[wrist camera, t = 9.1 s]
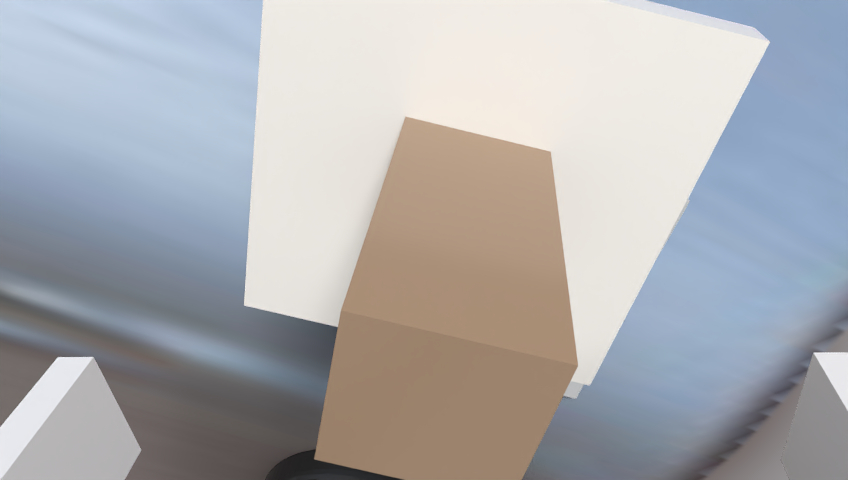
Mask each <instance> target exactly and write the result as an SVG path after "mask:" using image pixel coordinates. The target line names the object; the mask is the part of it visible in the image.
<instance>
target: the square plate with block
mask: <svg viewBox="0 0 848 480" xmlns="http://www.w3.org/2000/svg"><path fill="white" fill-rule="evenodd" d="M769 43H770V41H769V40H768V39H766V38H765V37H764V36H763V35H762V34H761V33H760V32H758V31H757V30H756V29H755V28H754V27H750V26H746V25H742V24H738V23H734V22H730V21H726V20H722V19H718V18H714V17H710V16H706V15H702V14H698V13H694V12H690V11H686V10H682V9H678V8H674V7H670V6H666V5H662V4H658V3H654V2H650V1H646V0H263V11H262V27H261V43H260V59H259V75H258V91H257V107H256V123H255V139H254V155H253V171H252V187H251V203H250V219H249V234H248V250H247V266H246V282H245V298H244V305H245V306H249V307H253V308H258V309H262V310H266V311H271V312H275V313H279V314H284V315H288V316H292V317H296V318H301V319H305V320H309V321H314V322H318V323H322V324H327V325H331V326H335V327H338V329H337V335H336V340H335V346H334V352H333V357H332V363H331V368H330V374H329V380H328V385H327V391H326V396H325V402H324V407H323V413H322V419H321V424H320V430H319V435H318V441H317V447H316V452H315V458H314V459H315V460H319V461H324V462H328V463H333V464H337V465H341V466H346V467H350V468H355V469H359V470H364V471H368V472H372V473H377V474H381V475H386V476H390V477H395V478H399V479H403V480H522V478H523V476H524V474H525V472H526V470H527V468H528V466H529V464H530V462H531V460H532V458H533V456H534V454H535V452H536V450H537V448H538V446H539V444H540V442H541V440H542V438H543V436H544V434H545V432H546V430H547V428H548V426H549V424H550V422H551V419H552V417H553V415H554V413H555V411H556V409H557V407H558V405H559V403H560V401H561V399H562V397H563V395H564V393H565V391H566V389H567V387H568V385H569V383H570V381H573V382H577V383H581V384H586V385H590V384H591V382H592V380H593V379H594V377H595V375H596V373H597V371H598V369H599V367H600V365H601V363H602V361H603V359H604V358H605V356H606V354H607V352H608V350H609V348H610V346H611V344H612V342H613V340H614V338H615V337H616V335H617V333H618V331H619V329H620V327H621V325H622V323H623V321H624V319H625V317H626V316H627V314H628V312H629V310H630V308H631V306H632V304H633V302H634V300H635V298H636V296H637V295H638V293H639V291H640V289H641V287H642V285H643V283H644V281H645V279H646V277H647V276H648V274H649V272H650V270H651V268H652V266H653V264H654V262H655V260H656V258H657V256H658V255H659V253H660V251H661V249H662V247H663V245H664V243H665V241H666V239H667V237H668V235H669V234H670V232H671V230H672V228H673V226H674V224H675V222H676V220H677V218H678V216H679V214H680V213H681V211H682V209H683V207H684V205H685V203H686V201H687V199H688V197H689V195H690V193H691V192H692V190H693V188H694V186H695V184H696V182H697V180H698V178H699V176H700V174H701V172H702V171H703V169H704V167H705V165H706V163H707V161H708V159H709V157H710V155H711V153H712V151H713V150H714V148H715V146H716V144H717V142H718V140H719V138H720V136H721V134H722V132H723V131H724V129H725V127H726V125H727V123H728V121H729V119H730V117H731V115H732V113H733V111H734V110H735V108H736V106H737V104H738V102H739V100H740V98H741V96H742V94H743V92H744V90H745V89H746V87H747V85H748V83H749V81H750V79H751V77H752V75H753V73H754V71H755V69H756V68H757V66H758V64H759V62H760V60H761V58H762V56H763V54H764V52H765V50H766V48H767V47H768V45H769Z"/></svg>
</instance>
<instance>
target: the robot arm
mask: <svg viewBox="0 0 848 480" xmlns="http://www.w3.org/2000/svg"><path fill="white" fill-rule="evenodd" d="M140 451H141V449H140V447H139V445H138V443H137V441H136V439H135V437H134V435H133V433H132V431H131V429H130V427H129V425H128V423H127V421H126V419H125V417H124V415H123V413H122V412H121V410H120V408H119V406H118V404H117V402H116V400H115V398H114V396H113V394H112V392H111V390H110V388H109V386H108V384H107V382H106V380H105V378H104V376H103V374H102V373H101V371H100V369H99V367H98V365H97V363H96V361H95V359H94V357H58V358H57V359H56V360H55V361H54V363H53V364H52V365H51V366H50V368H49V369H48V370H47V371H46V372H45V374H44V375H43V376H42V377H41V378H40V380H39V381H38V382H37V383H36V385H35V386H34V387H33V388H32V389H31V391H30V392H29V393H28V394H27V395H26V397H25V398H24V399H23V400H22V402H21V403H20V404H19V405H18V406H17V408H16V409H15V410H14V411H13V412H12V414H11V415H10V416H9V417H8V418H7V420H6V421H5V422H4V423H3V425H2V426H1V427H0V480H125V478H126V476H127V474H128V473H129V471H130V469H131V467H132V466H133V464H134V462H135V460H136V458H137V457H138V455H139V453H140ZM315 452H316V450H313V451H308V452H303V453H300V454H297V455H294V456H291V457H289V458H287V459H285V460H283V461H282V462H280V463H279V464H277V465H276V466H275V467H274V468H273V469H272V470H271V471H270V472H269V474H268V475H267V477H266V479H265V480H403V479H399V478H395V477H390V476H386V475H381V474H377V473H372V472H368V471H364V470H359V469H355V468H350V467H346V466H341V465H337V464H333V463H328V462H324V461H319V460H315V459H314V458H315ZM781 462H782V464H783V466H784V469H785V471H786V473H787V475H788V478H789V480H848V353H813V356H812V359H811V362H810V366H809V369H808V372H807V376H806V379H805V382H804V385H803V389H802V392H801V395H800V399H799V402H798V405H797V408H796V412H795V415H794V418H793V422H792V425H791V428H790V431H789V435H788V438H787V441H786V445H785V448H784V451H783V455H782V458H781Z"/></svg>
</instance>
